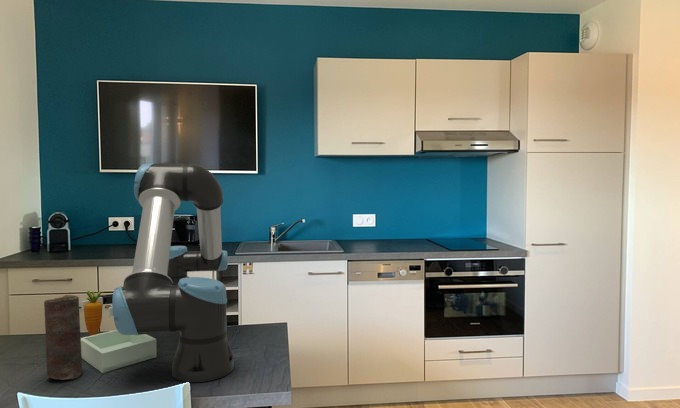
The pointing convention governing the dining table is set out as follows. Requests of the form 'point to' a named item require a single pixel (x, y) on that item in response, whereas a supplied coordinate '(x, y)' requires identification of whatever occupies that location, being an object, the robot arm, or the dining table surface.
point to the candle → (63, 337)
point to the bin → (117, 350)
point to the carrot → (93, 313)
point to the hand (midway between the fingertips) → (95, 309)
